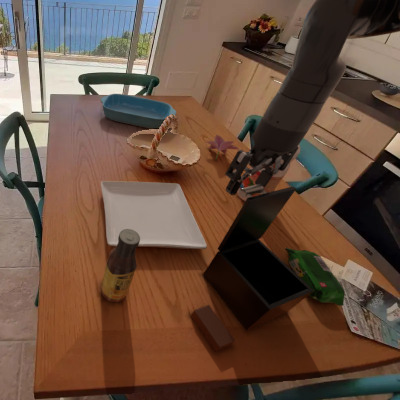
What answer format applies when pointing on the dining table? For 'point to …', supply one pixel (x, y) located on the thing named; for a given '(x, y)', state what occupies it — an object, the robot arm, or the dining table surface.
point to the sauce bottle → (120, 266)
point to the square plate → (150, 214)
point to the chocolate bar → (212, 328)
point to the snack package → (316, 276)
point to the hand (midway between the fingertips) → (244, 189)
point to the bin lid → (255, 215)
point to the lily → (221, 144)
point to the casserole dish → (136, 110)
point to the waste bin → (255, 283)
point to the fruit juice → (273, 181)
